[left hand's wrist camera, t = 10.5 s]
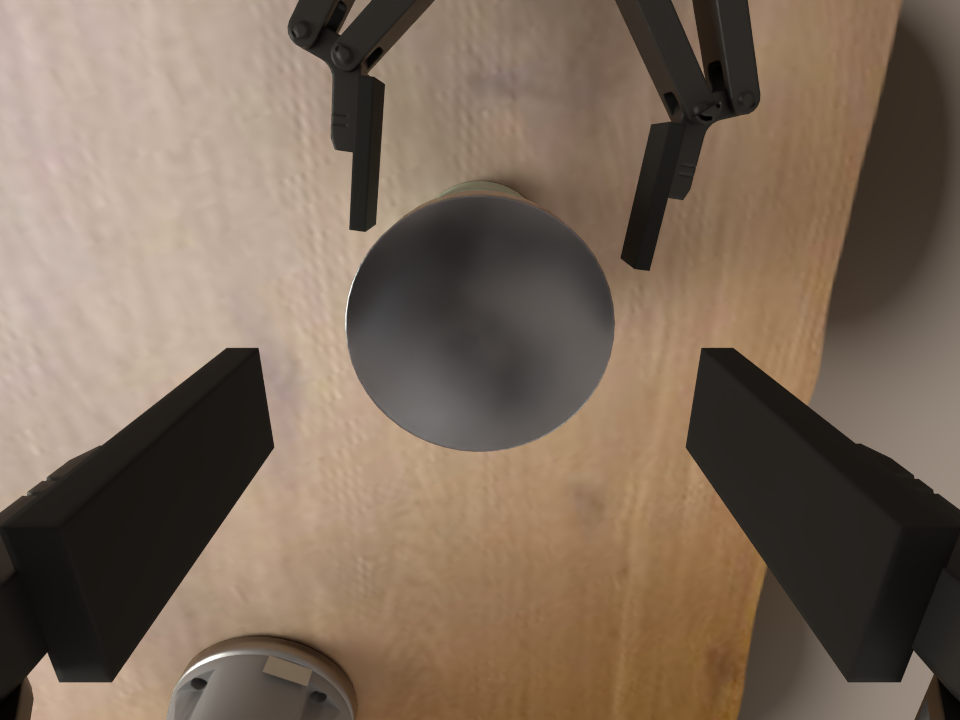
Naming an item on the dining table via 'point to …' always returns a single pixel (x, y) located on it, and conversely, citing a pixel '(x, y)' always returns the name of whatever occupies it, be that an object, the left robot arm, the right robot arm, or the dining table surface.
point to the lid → (480, 322)
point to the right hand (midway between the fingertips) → (500, 246)
